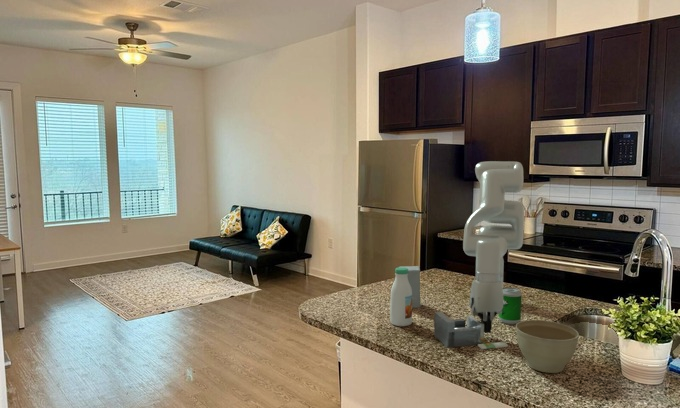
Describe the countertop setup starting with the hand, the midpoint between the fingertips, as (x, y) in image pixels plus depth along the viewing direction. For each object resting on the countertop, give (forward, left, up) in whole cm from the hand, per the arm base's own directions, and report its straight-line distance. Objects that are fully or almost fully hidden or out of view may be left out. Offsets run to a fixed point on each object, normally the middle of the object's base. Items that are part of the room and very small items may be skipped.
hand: (486, 331), depth 151 cm
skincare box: (+13, -37, -2) cm, 39 cm away
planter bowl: (-5, +23, -2) cm, 24 cm away
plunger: (+8, +2, -2) cm, 8 cm away
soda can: (-16, -12, -2) cm, 20 cm away
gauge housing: (+11, 0, -2) cm, 11 cm away
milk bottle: (+23, -19, -2) cm, 30 cm away
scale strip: (+2, +7, -2) cm, 8 cm away
